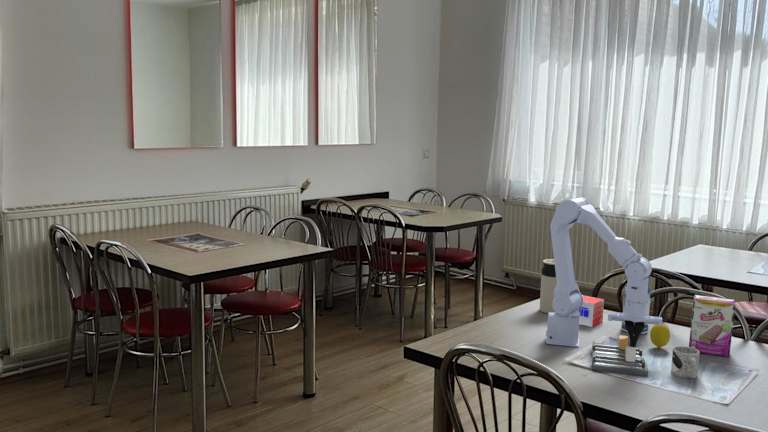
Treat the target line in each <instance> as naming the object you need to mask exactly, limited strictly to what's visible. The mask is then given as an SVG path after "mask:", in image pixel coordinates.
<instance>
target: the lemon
mask: <svg viewBox="0 0 768 432" xmlns="http://www.w3.org/2000/svg"><path fill="white" fill-rule="evenodd" d="M649 338H650V341H651V343H652V345H654V346H655V347H656V348H657V349H661V348H663V347H665V346H667V345H668V343H669V342H670V339H671V333H670V329H669V327H668V326H667V324H664V323H663V322H662V326H658V325H654V324H653V325H652V326H651V329H650V333H649Z"/></svg>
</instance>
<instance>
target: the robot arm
mask: <svg viewBox="0 0 768 432" xmlns="http://www.w3.org/2000/svg"><path fill="white" fill-rule="evenodd" d="M575 223H578V224H583V225H587V226H589V227H590V228H591V229H592V230H593V231H594V232H595V233H596V234H597V236H599V237H600V238H601V239H602V240H603V241H604V242H605V243H606V244H607V250H608V251H607V252H608V253H610V255H611V256H612V257H613V258H614V259H615V261H616V262H617V263H618V264H619V265H620V266H621V267H622V268H624V274H625V277H626V278H627V279H626V281H627V283H626V284H627V289H626V302H625V313H623V312H607V321H608V322H613V321H615V322H622V321H623V322H625V326H626V329H627V332H626V333H627V334H628V335H627V336H628V339H629V346H630V347H637V343H638V340H639V338H640V337H641V335H642V334H641V333H642V331H643V330H644V327H645V325H644V324H648V325H653V326H654V325H658V326H662V323H663V317H660V316H652V315H650V314H649V315H646V307H647V294H648V285H649V282H648V277H647V276H649V275H650V276H651V273H652V271H653V266H652V264H651V262H650V260H649V259H648V258H645V257H643V255H642V254H641V253H639V252H637V251H636V249H634V247H633V246H632V245H631V244H632V242H631V241H630V240H629V239H625V238H624V237H618V236H617V235H616V233H614V231H613V230H612V229H611V228H610V227H609V225H608V224H607V223H606V222H605V220H604V219H603V218H602V216H601V215H600V214H599V213H598V211H597V210H596V208H595V207H594V206H593V205H592V204H590V203H589V201H588V200H587V199H586V198H585V197H582V196H577V197H573V198H571V199H570V198H569V199H568V198H567V199H564V200H562V201H561V202H560V203H559V204H558V205H556V206H555V212H554V214H553V218H552V219H551V222H550V225H549V227H550V236H551V237H550V238H551V246H552V253H553V254H552V255H553V259H554V263H555V271H556V279H557V285H556V287H555V290H554V300H553V303H552V305H553V309H554V311H555V312H553V313H552V312H549V313H547V315H548V316H547V326H546V327H547V329H546V330H545V331H546V332H545V336H546V344H547V345H554V346H562V347H563V346H565V347H574V348H575V347H576V348H579V347H580V338H579V330H580V324H579V317H580V313H579V308H581V306H582V305H583V297H582V295H583V294H582V293H581V292H580V287H579V285H578V283H577V282H576V278H575V270H574V263H573V254H572V246H571V237H570V229H571V228H572V227H573V226H574V225H576V224H575ZM646 277H647V278H646Z"/></svg>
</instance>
